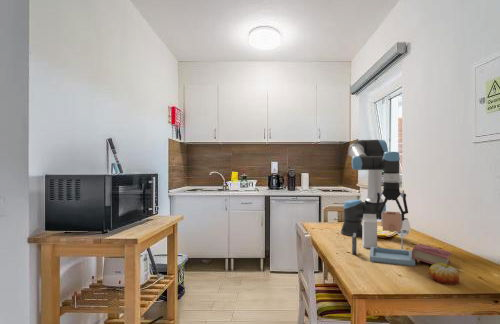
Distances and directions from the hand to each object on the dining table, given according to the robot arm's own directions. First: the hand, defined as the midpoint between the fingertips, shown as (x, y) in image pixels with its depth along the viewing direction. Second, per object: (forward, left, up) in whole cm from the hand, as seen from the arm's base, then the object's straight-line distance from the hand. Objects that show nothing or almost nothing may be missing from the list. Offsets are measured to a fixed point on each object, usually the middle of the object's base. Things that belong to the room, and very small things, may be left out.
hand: (391, 226), depth 163 cm
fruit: (+26, +19, -17) cm, 36 cm away
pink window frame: (0, 0, -1) cm, 1 cm away
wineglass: (-17, +6, -16) cm, 24 cm away
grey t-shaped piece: (0, -18, -16) cm, 24 cm away
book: (0, +17, -15) cm, 23 cm away
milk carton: (-20, -11, -16) cm, 28 cm away
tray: (0, 0, -16) cm, 16 cm away
